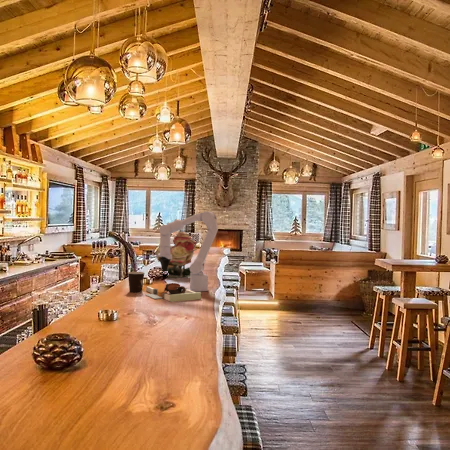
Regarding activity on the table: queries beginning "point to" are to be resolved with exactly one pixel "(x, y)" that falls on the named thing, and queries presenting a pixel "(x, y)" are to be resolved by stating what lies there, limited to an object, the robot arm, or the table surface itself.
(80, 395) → the table surface
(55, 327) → the table surface
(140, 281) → the coffee mug
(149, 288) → the lane
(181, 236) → the rose bouquet
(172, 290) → the pottery mug
